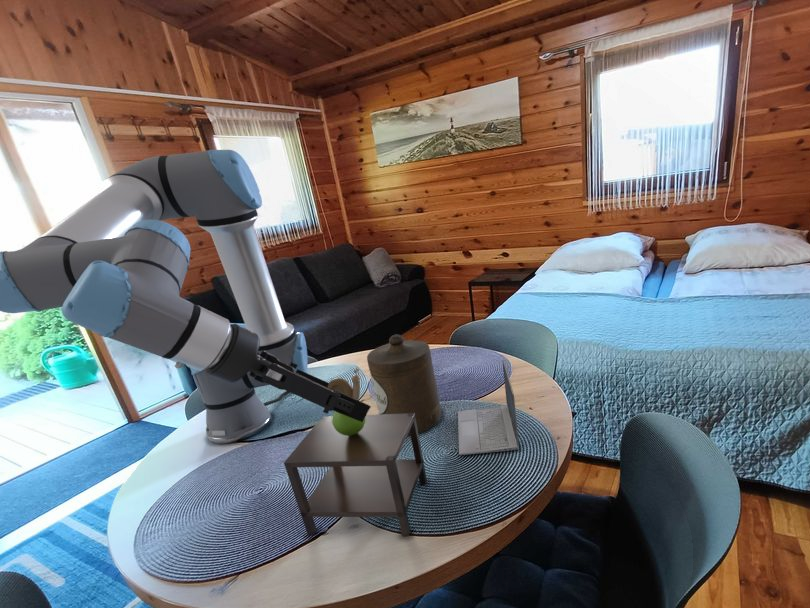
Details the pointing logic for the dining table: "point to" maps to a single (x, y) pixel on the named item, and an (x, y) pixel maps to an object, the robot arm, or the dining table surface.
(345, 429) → the snail figurine
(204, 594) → the dining table surface
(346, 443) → the rack
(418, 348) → the wooden container
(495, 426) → the laptop
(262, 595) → the dining table surface
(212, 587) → the dining table surface
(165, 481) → the dining table surface
